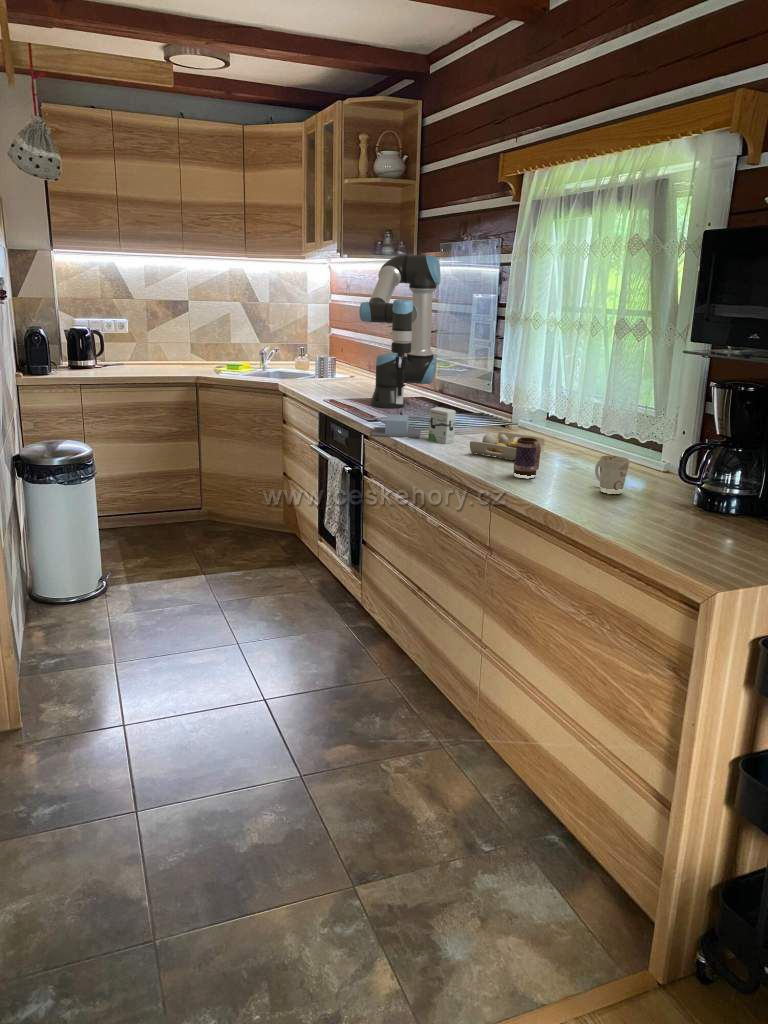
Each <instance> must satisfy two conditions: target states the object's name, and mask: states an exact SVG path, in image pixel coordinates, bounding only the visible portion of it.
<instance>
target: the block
mask: <svg viewBox="0 0 768 1024" xmlns="http://www.w3.org/2000/svg"><path fill="white" fill-rule="evenodd" d="M409 418H410V417H409V415H408V414H404V415H403V414H387V416H386V419H385V425H384V426H385V427H384V428H385V434H404V435H406V434H407V431H408V429H409V420H410V419H409Z"/></svg>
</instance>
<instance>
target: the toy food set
mask: <svg viewBox="0 0 768 1024" xmlns="http://www.w3.org/2000/svg"><path fill="white" fill-rule="evenodd" d="M516 437H517V438H534V439H537V442H539V443H540V444H541V452H543V451H544V448H545V446H546V440H547V439H546V438H545V437H542V436H536V435H530V434H525V433H517V432H511V431H510V432H509V431H505V430H504V431H503V430H502V431H499V432H498V433H497V438H496V441H495V437H494V436H493V434H492V433H491V432H490V433H489V432H488V433H486V434H485V435H484V436H483V437H482V442H481V441H476V440H472V441H470V442H469V449H470V453H471V454H473V453H477V454H476V455H478V454H484V455H490V456H496V457H501V458H507V459H513V460H515V456H516V448H517V441H518V439H515V438H516ZM514 439H515V440H514ZM484 455H483V456H484ZM490 456H489V457H490ZM496 457H495V458H496ZM501 458H500V459H501ZM507 459H506V460H507ZM513 460H512V461H513Z"/></svg>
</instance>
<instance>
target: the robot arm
mask: <svg viewBox="0 0 768 1024" xmlns="http://www.w3.org/2000/svg"><path fill="white" fill-rule="evenodd" d="M377 277H378V280H377V283H376V285H375V287H374V289H373V291H372V295H371V296H370V299H369V301H363V302H361V303H360V305H359V319H360V321H361V322H365V323H381V324H392V325H391V326H392V327H391V328H392V329H391V332H390V333H389V334H390V336H391V341H392V342H391V349H390V350H391V352H387V353H381V354H379V355H377V356H376V360H375V361H376V363H375V387H374V392H373V394H372V397H371V400H370V405H371V406H372V407H376V408H382V409H383V408H385V409H398V408H404V407H405V405H406V403H405V402H406V401H405V397H404V390H405V389H404V387H406V384H419V385H429V384H432V383H433V382H434V379H435V374H436V371H437V370H436V369H437V364H438V363H437V362H438V359H437V357H435V356H434V352H433V351H432V349H431V342H432V341H431V340H432V319H433V318H432V317H433V316H432V314H433V294H434V292H435V291H436V290H437V286H439V285H440V284H441V266H440V261H439V258H438V257H437V256H436V255H428V254H399V255H396V256H394V257H392V258H390V259H388V260H387V261H386V262H385V263H383V265H382V266H381V267H380V270H379V272H378V275H377ZM399 284H408V287H409V288H408V289H409V290H410V291H411V292H412V300H410V299H395V300H393V302H391V303H390V301H391V299H392V296H393V294H394V292H395V289H396V287H397V286H398V285H399ZM405 354H406V355H405Z"/></svg>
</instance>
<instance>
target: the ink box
mask: <svg viewBox="0 0 768 1024" xmlns="http://www.w3.org/2000/svg"><path fill="white" fill-rule="evenodd" d="M456 413H457V411H456V410H454V409H451V408H450V409H449V408H447V407H446V408H445V407H440V406H436V407H433V408H430V409H429V420H428V422H429V423H428V424H429V425H428V437H427V438H428V439H427V440H428V441H430V442H435V443H440V444H442V445H448V444H453V443H455V429H456V428H455V427H456Z"/></svg>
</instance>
